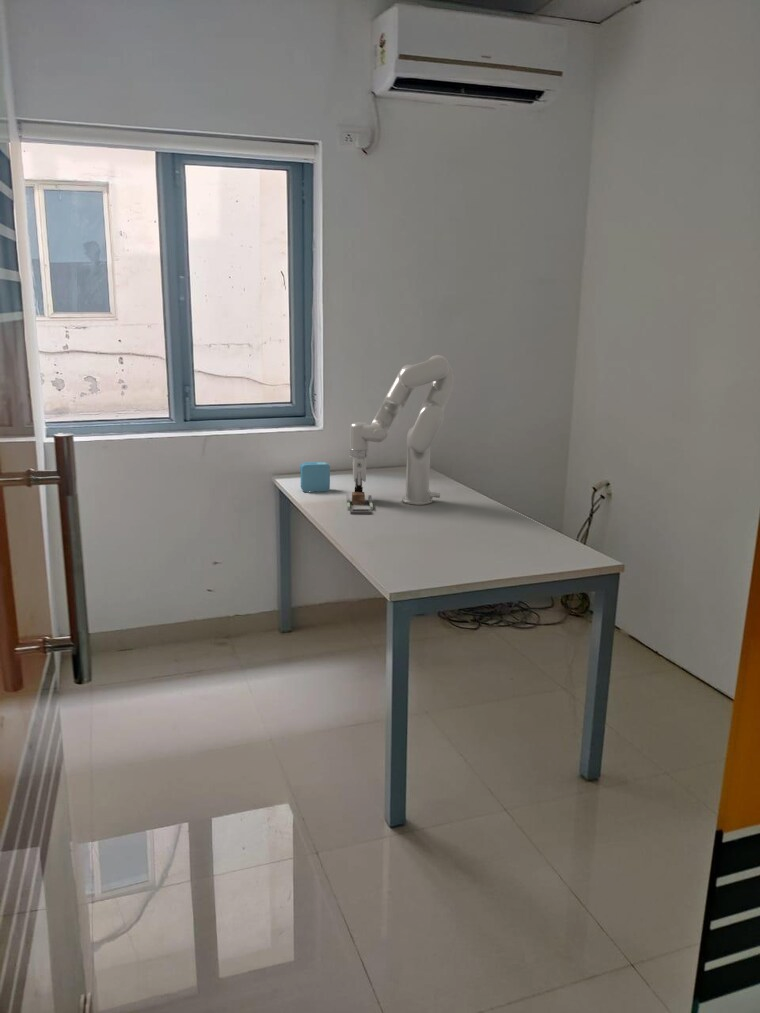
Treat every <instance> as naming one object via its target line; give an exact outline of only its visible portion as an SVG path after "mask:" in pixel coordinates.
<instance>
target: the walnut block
mask: <svg viewBox="0 0 760 1013" xmlns="http://www.w3.org/2000/svg"><path fill="white" fill-rule="evenodd" d="M365 493H366V492H365V491H363V492H355V491H352V492H351V505H352V504H366V503H365V501H366V500H365V499H366V496H365Z"/></svg>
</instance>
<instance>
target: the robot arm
mask: <svg viewBox="0 0 760 1013" xmlns="http://www.w3.org/2000/svg"><path fill="white" fill-rule="evenodd" d="M454 382H455V377H454V372H453V368H452V367H451V364H450V363H449V361H448V360H447V358H446V357H444V356H443V355H440V354H436V355H432V356H431V357H430V358H429V359H427V360H424V361H422V362H418V363H415V364H405V365H404V366H402V367H401V368H400V371H399V372H398V373H397V376H396V377H395V380H394V381H393V383H392V385H391V386H390V388H389V390H388V392H387V394H386V395H385V397H384V398H383V402H382V404H381V405H380V407H379V409H378V411H377V413H376V415H375V417H374V418H373V420H372V422H371V424H368V423H367V422H357V421H356V422H352V423H351V424H350V426H349V427H350V428H349V457H350V458H352V475H353V476H352V477H353V482H355V483H354V484H355V485H354V492H364V491H363V488H364V487H363V482H364V483H365V482H366V481H367V458H369V444H370V443H369V442H372V443H377V444H378V443H383V442H384V441H385V440H386V439H387V438H388V434H389V433H388V432H389V431H390V428H391V426H392V425H393V423H394V421H395V419H396V418H397V416H398V415H399V413H400V412H401V411H403V409H404V408H405V406H407V403H408V402H409V399H410V398H411V396H412V395H413V393H414V390H415V389H416V388H417V387H418V388H419V387H421V386H424V385H427V384H430V383H431V385H430V388H429V390H428V392H427V394H426V396H425V398H424V400H423V402H422V403H421V404H422V405H421V406H420V407H419V410H418V411H419V412H418V416H417V418H416V420H415V423H414V425H413V426H411V427H410V428H409V429H408V431H407V435H406V471H405V473H406V474H405V476H406V477H405V478H406V479H405V495H404V496H402V497H401V502H402V503H404V504H408V505H417V506H422V505H424V506H425V505H429V504H431V503H433V498H436V499H437V498H438V499H439V498H441V493H440V492H436V491H434V492H433V491H432V492H431V491H430V473H431V472H430V471H431V467H430V466H431V447H432V445H433V442H434V440H435V439H436V436H437V434H438V432H439V430H440V429H441V426H442V424H443V421H444V418H445V416H444V415H445V414H444V411H445V408H446V405H447V403H448V402H449V398H450V396H451V394H452V391H453V388H454Z"/></svg>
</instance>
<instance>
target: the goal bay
mask: <svg viewBox="0 0 760 1013" xmlns="http://www.w3.org/2000/svg"><path fill="white" fill-rule="evenodd" d="M346 509H347V510H346V511H350V509H351V503H347V502H346ZM369 509H371V511H373V510H374V506H373V502H372V503H370V506H369Z"/></svg>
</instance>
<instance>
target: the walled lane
mask: <svg viewBox="0 0 760 1013" xmlns="http://www.w3.org/2000/svg"><path fill="white" fill-rule="evenodd" d="M372 498H373V497H372V495H370V494H369V495H368V506H369V505H370V503H372V504H373V499H372ZM350 500H351V499H350V495H349V494H348V495H346V504H347V503H350ZM350 504H351V503H350Z"/></svg>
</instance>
